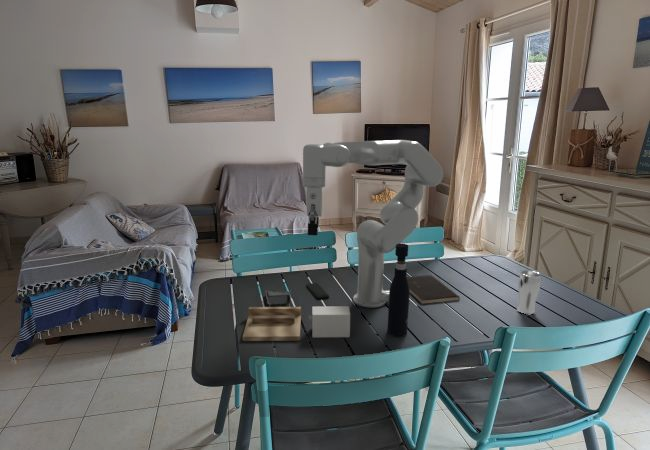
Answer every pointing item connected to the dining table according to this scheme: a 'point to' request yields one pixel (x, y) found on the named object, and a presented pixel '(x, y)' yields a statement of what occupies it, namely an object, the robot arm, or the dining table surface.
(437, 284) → the hardcover book
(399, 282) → the black bottle
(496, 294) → the dining table surface
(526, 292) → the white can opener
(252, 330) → the cleat board
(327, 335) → the light grey block
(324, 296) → the remote control
